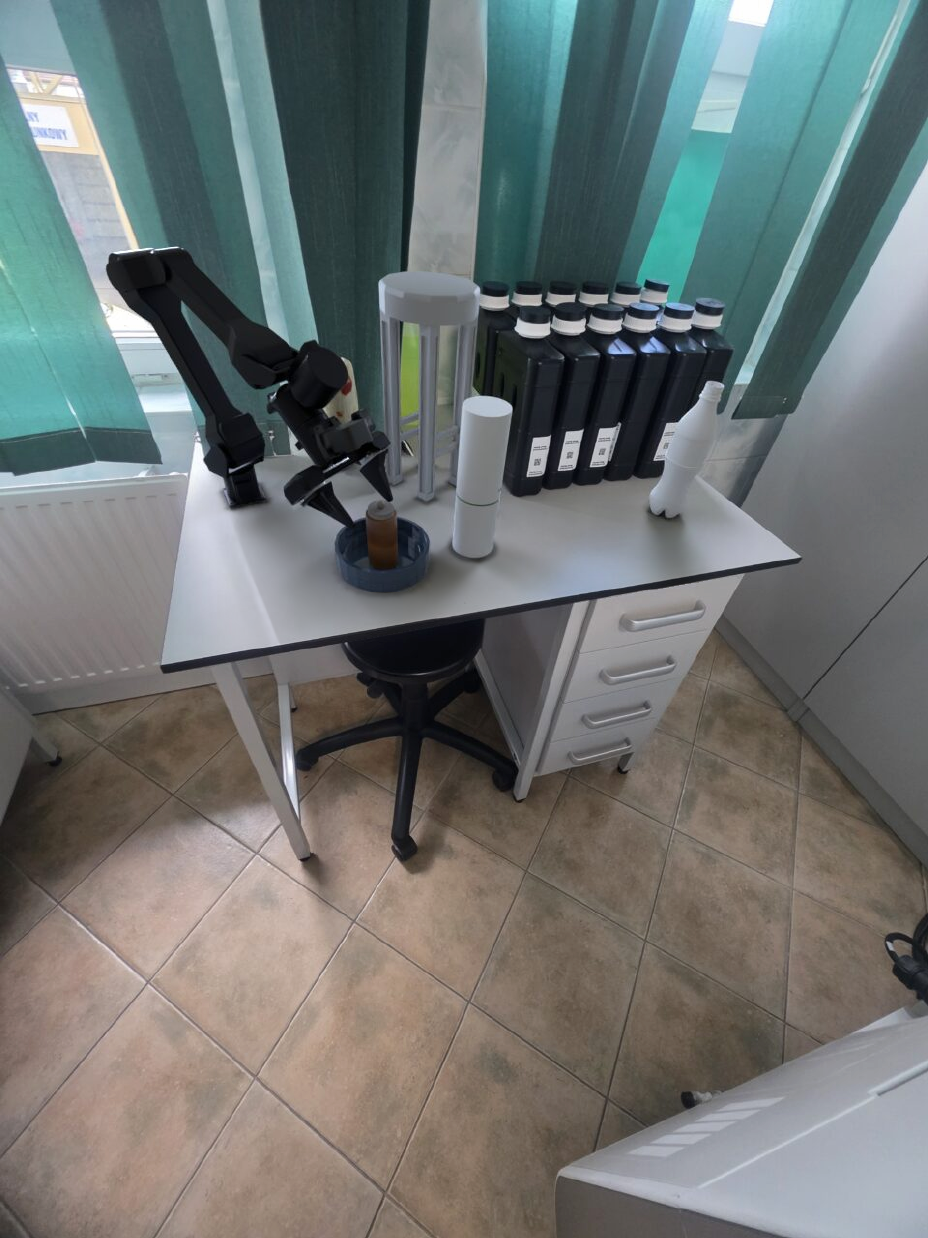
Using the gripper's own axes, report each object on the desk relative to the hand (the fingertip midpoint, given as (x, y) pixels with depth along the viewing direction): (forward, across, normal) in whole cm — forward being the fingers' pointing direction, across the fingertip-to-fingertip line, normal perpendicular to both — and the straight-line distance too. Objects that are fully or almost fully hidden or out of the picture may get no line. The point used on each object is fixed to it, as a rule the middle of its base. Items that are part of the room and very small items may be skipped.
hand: (372, 513), depth 79 cm
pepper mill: (+7, 0, +5) cm, 9 cm away
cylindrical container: (+14, +13, -1) cm, 20 cm away
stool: (+1, +26, +12) cm, 29 cm away
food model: (-12, +22, +25) cm, 36 cm away
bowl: (+8, 0, +5) cm, 9 cm away
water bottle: (+32, +47, -19) cm, 60 cm away
